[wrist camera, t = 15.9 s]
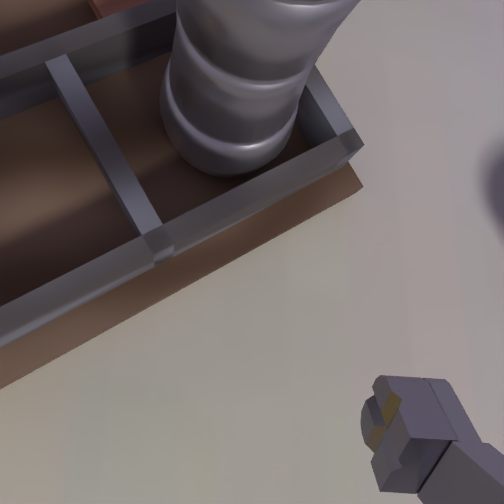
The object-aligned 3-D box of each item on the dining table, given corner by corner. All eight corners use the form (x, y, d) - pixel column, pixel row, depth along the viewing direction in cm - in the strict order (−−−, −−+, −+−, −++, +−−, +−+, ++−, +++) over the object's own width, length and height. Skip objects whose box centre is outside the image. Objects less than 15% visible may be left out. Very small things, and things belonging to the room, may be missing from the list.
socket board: (-218, 82, 23) (-296, 28, 19) (201, -61, 29) (206, -125, 25) (-50, 416, 21) (-97, 431, 17) (356, 192, 27) (388, 166, 23)
